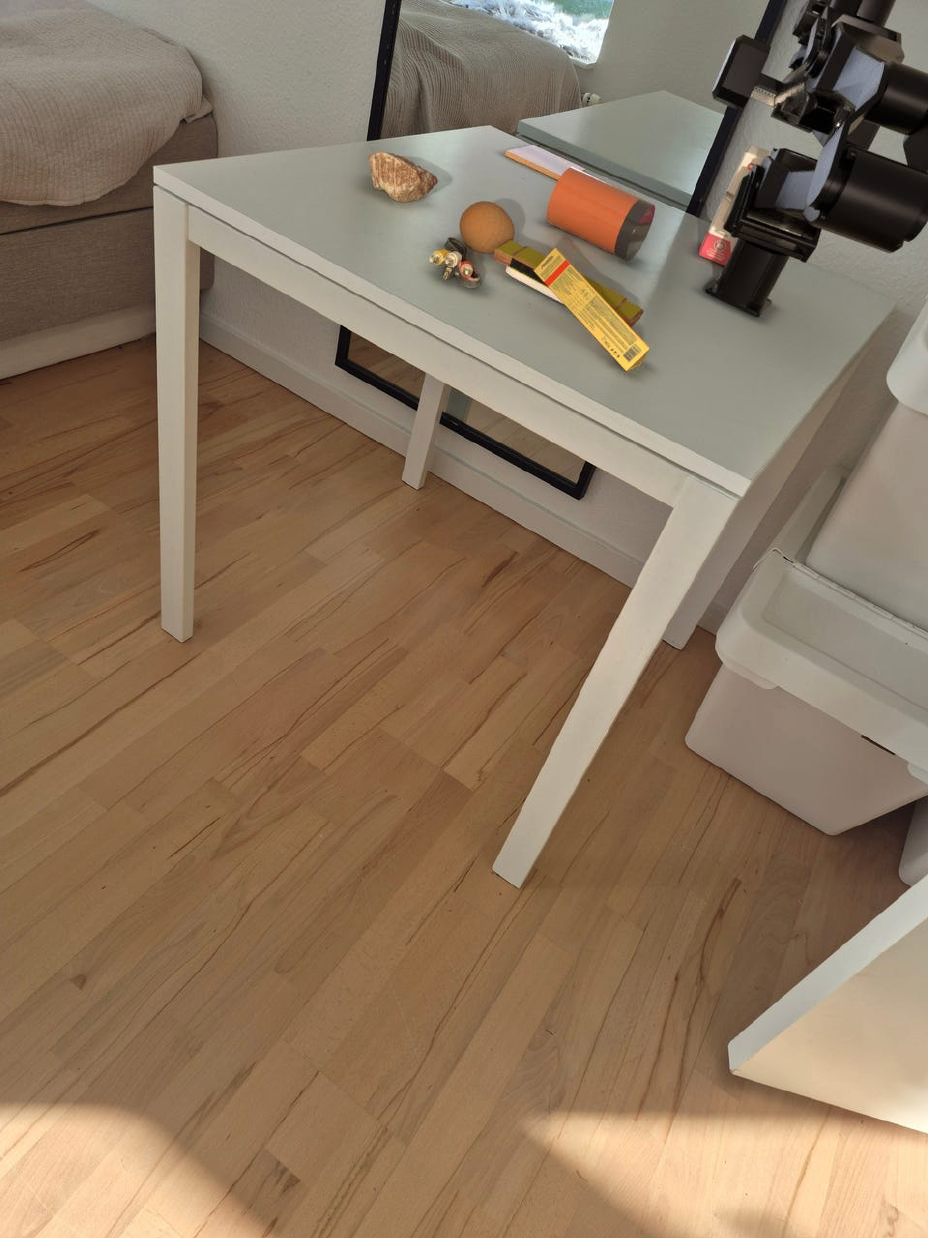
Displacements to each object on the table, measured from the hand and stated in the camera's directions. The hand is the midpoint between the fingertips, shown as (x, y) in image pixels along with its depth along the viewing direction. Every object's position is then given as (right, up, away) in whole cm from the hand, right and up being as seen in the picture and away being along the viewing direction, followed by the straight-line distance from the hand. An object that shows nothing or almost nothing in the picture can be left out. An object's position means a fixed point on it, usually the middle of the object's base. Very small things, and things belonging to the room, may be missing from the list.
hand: (779, 110), depth 100 cm
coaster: (-27, -1, +10) cm, 29 cm away
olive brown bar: (-28, -30, -25) cm, 48 cm away
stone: (-46, -19, -16) cm, 52 cm away
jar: (-24, -20, -8) cm, 32 cm away
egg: (-38, -24, -23) cm, 51 cm away
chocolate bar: (-28, -36, -31) cm, 54 cm away
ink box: (-6, -19, +1) cm, 19 cm away
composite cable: (-39, -30, -25) cm, 55 cm away
